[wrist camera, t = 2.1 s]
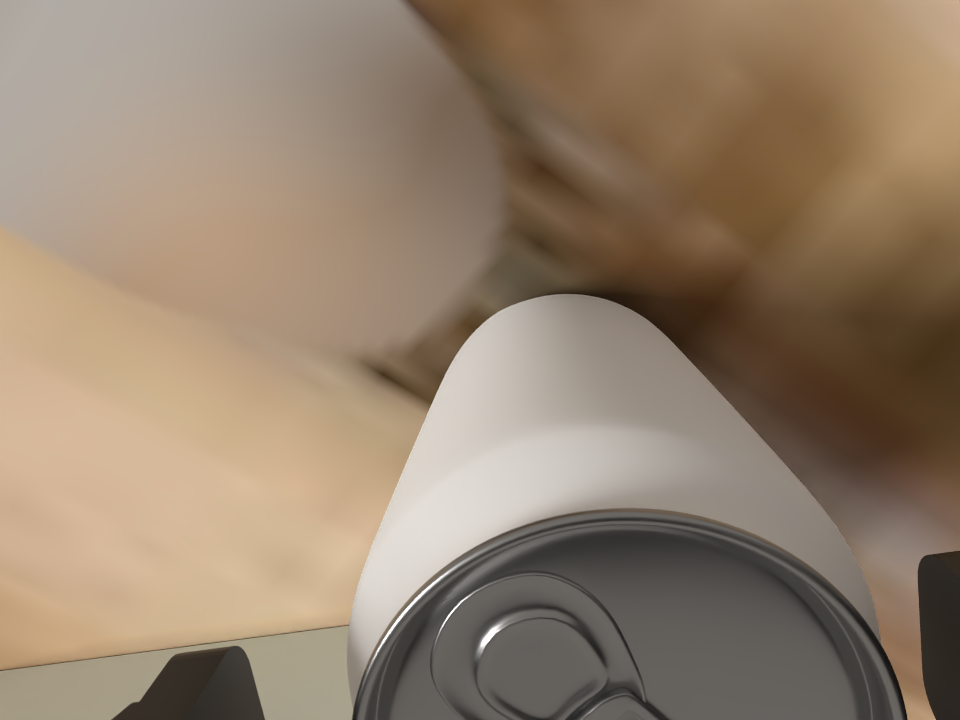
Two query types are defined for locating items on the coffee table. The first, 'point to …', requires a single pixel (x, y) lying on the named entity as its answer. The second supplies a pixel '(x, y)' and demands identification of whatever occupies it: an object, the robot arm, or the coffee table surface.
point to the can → (605, 547)
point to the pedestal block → (126, 678)
